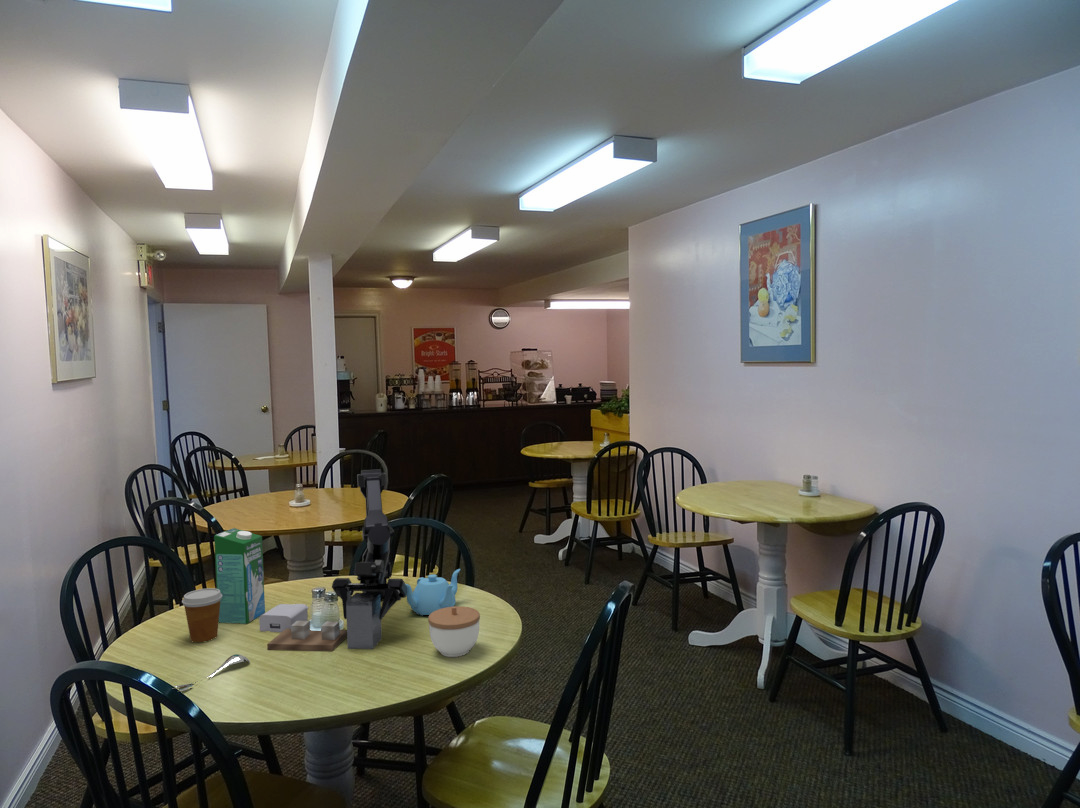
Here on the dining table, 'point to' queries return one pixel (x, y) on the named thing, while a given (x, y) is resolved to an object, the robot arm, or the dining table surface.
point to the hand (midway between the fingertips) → (362, 618)
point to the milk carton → (239, 575)
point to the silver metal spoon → (229, 661)
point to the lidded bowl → (454, 630)
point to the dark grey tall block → (363, 620)
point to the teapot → (432, 594)
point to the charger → (282, 617)
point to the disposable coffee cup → (202, 613)
